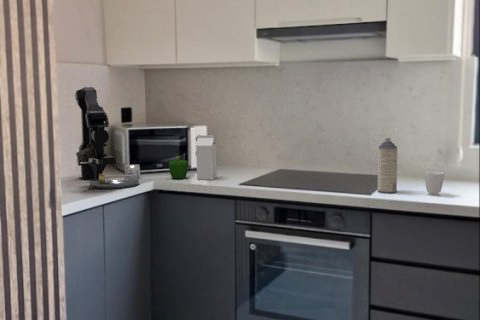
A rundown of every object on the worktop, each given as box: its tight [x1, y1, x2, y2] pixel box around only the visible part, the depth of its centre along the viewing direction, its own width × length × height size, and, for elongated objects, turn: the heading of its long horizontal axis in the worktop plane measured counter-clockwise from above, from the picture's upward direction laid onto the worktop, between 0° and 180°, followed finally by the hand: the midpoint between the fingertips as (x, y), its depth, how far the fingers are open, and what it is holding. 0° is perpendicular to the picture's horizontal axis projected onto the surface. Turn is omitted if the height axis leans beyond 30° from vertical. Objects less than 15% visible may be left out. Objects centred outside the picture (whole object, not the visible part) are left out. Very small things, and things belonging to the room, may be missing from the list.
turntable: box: [89, 172, 140, 190], centre depth 230 cm, size 20×20×6 cm
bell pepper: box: [168, 156, 189, 180], centre depth 245 cm, size 8×8×10 cm
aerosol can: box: [377, 137, 398, 195], centre depth 204 cm, size 7×7×20 cm
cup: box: [423, 170, 445, 197], centre depth 199 cm, size 7×10×8 cm
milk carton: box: [195, 134, 218, 181], centre depth 242 cm, size 7×7×19 cm
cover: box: [124, 164, 141, 179], centre depth 247 cm, size 6×6×6 cm
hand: (98, 179), depth 224 cm, fingers closed
